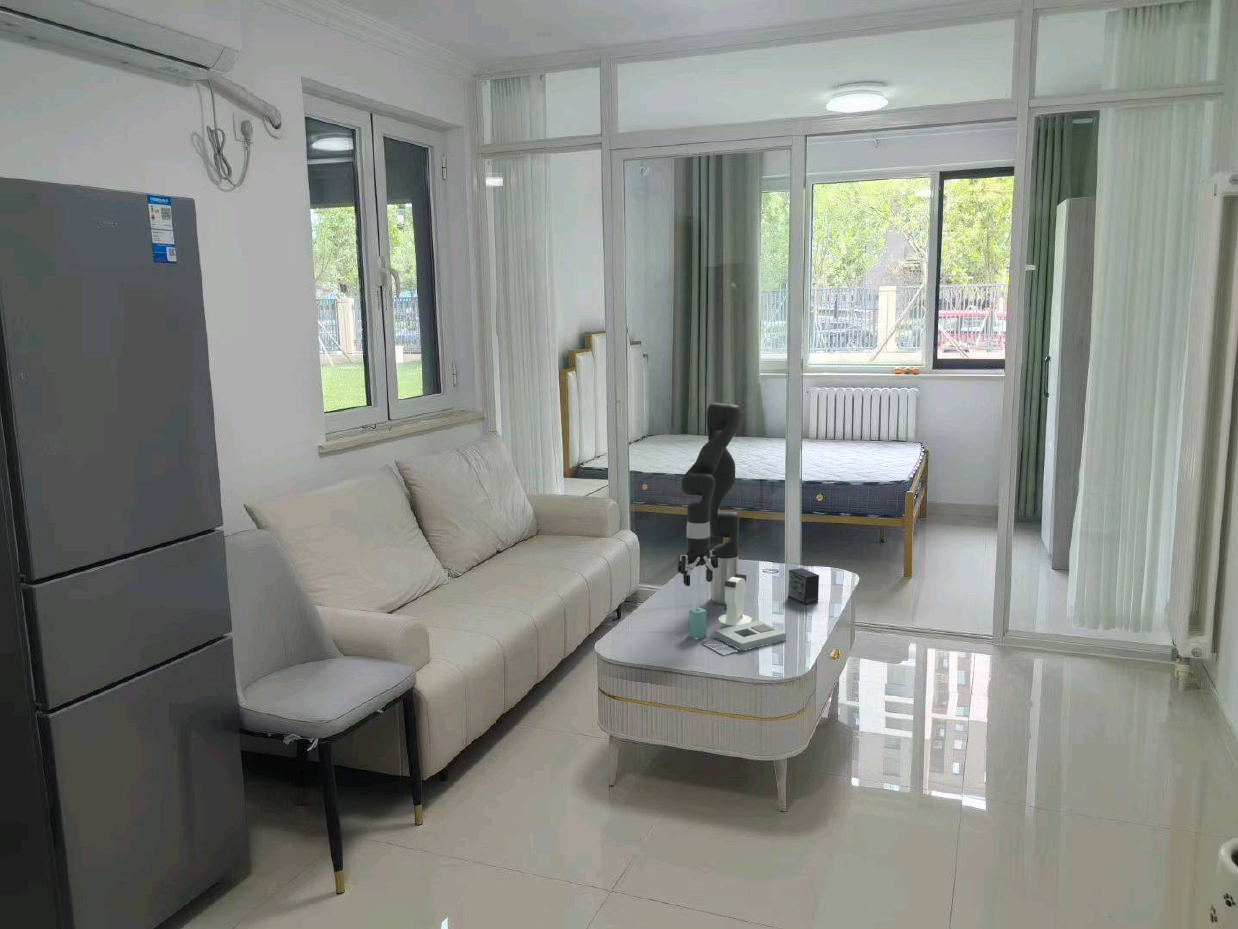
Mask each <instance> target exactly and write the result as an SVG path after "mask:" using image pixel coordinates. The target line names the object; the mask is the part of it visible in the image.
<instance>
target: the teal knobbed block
mask: <svg viewBox="0 0 1238 929" xmlns="http://www.w3.org/2000/svg"><path fill="white" fill-rule="evenodd" d="M688 610H689V611H688V620H689V621H688V622H689V623H688V636H689V635H690V636H689V637H691V638H692V639H694V638H700V639H703V638H707V610H706V609H704V608H702V607H695V608H689V609H688Z"/></svg>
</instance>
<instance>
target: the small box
mask: <svg viewBox="0 0 1238 929" xmlns="http://www.w3.org/2000/svg"><path fill="white" fill-rule="evenodd" d="M819 585H820V575H819V574H817V573H815V572H813V571H810V570H807V569H805V568H802V567H801V568H794V569H793V568H792V569H789V570H788V592H787V594H788V595H787V597H788V598H790V599H792V600H794V601H796V602H798V603H801V604H802V605H805V606H806V605H810V604H817V603H819V590H820V589H819V587H820V586H819Z"/></svg>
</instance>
